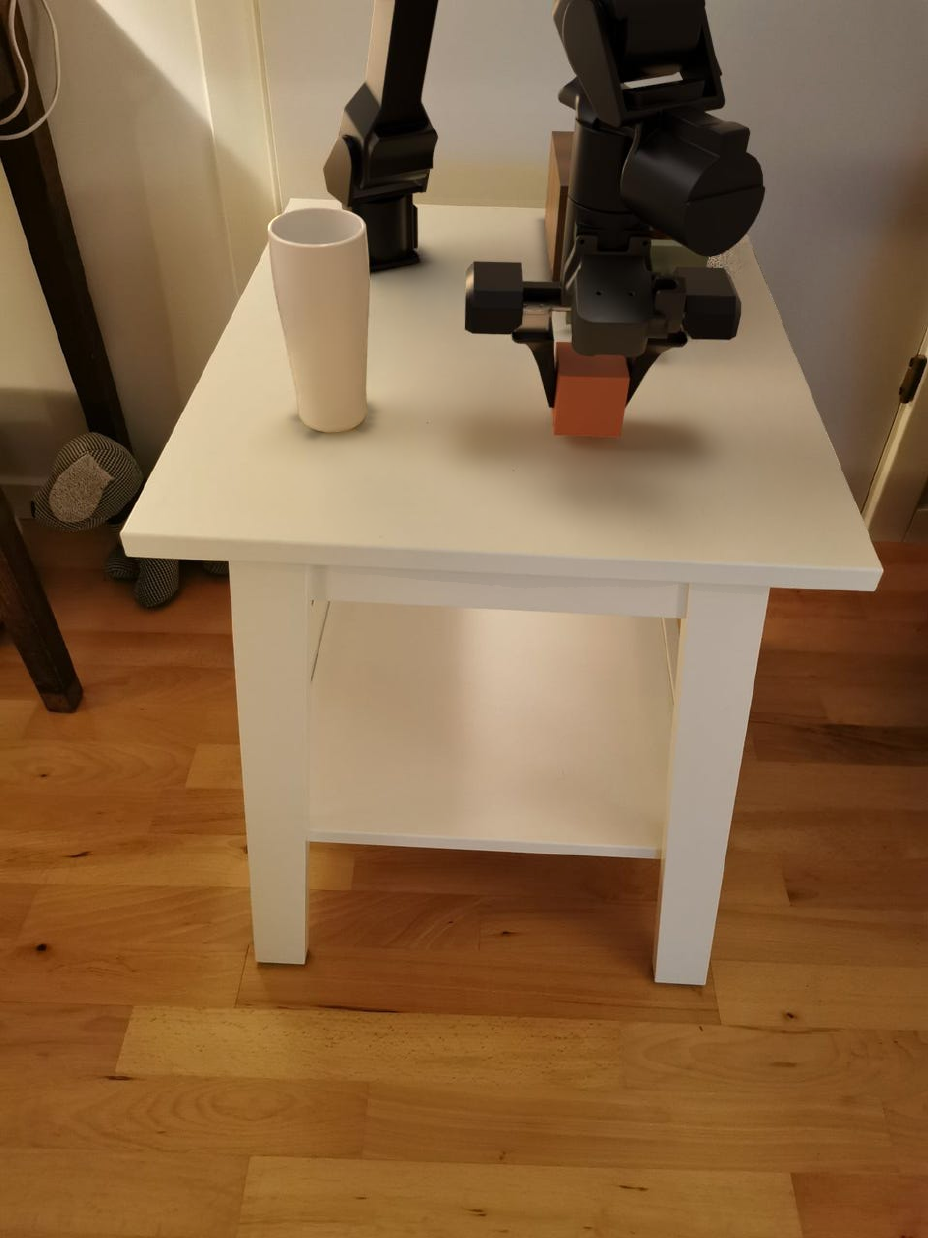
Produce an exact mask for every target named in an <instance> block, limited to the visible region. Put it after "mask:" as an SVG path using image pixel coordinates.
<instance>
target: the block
mask: <svg viewBox="0 0 928 1238" xmlns="http://www.w3.org/2000/svg"><path fill="white" fill-rule="evenodd" d="M554 360H555V381H556V394H555V402H554V408H550V409H551V419H552V429H553V435H554V436H567V437H568V436H569V437H570V436H571V437H611V438H612V437H613V438H619V437H620V438H621V437H622V430H623V425H624V417H625V413H626V408H625V406H626V400H627V393H628V387H629V381H630V376H629V372H628V367H627V362H626V358H625V357H624V356H623V355H595V356H582V355H580V354H578V353H576V352H575V351H574V349H573V347H572V343H571V341H556V342H555V346H554Z"/></svg>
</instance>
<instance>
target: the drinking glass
mask: <svg viewBox="0 0 928 1238" xmlns="http://www.w3.org/2000/svg"><path fill="white" fill-rule="evenodd" d="M267 236H268V251H269V252H268V253H269V261H270V270H271V278H272V284H273V290H274V295H275V300H276V305H277V311H278V315H279V319H280V324H281V329H282V333H283V339H284V342H285V347H286V352H287V353H286V354H287V358H288V361H289V362H288V363H289V367H290V372H291V377H292V382H293V386H294V391H295V399H296V407H297V414H298V416H299V418H300V421H301V422H302V423H304V425H305V426H307V427H308V428H310V429H312V430H314V431H318V432H321V433H340V432H346V431H349V430H351V429H353V428H355V427H357V426H358V425H360V424H361V423H362V422H363V421H364V419H365V418H366V416H367V412H368V398H367V397H368V396H367V378H368V377H367V376H368V375H367V374H368V347H369V345H368V344H369V343H368V342H369V322H370V321H369V318H370V296H371V295H370V292H371V271H370V268H369V251H368V241H367V231H366V224H365V222H364V220H363V219H362V218H361V217H359V216H358V215H356V214H354V213H352V212H349V211H346V210H342V208H337V207H330V206H329V207H328V206H311V207H302V208H296V209H293V210H289V211H286V212H283V213H281V214H279V215H277V216H276V217H274V218H273V219H272V220H271V221H270V222H269V224H268V226H267Z"/></svg>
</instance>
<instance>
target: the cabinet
mask: <svg viewBox="0 0 928 1238" xmlns="http://www.w3.org/2000/svg"><path fill="white" fill-rule="evenodd" d="M573 137H574V131H569V130H567V131H565V130H551V134H550V147H549V159H548V160H549V161H548V174H547V186H546V200H545V209H544V210H545V211H544V213H545V214H544V229H545V235H546V236H545V237H546V245H547V252H548V261H549V270H550V278H551V282H560V274H561V263H562V253H563V242H564V232H565V221H566V210H567V200H568V190H569V179H570V169H571V158H572V147H573Z"/></svg>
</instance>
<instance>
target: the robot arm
mask: <svg viewBox="0 0 928 1238" xmlns="http://www.w3.org/2000/svg"><path fill="white" fill-rule="evenodd" d="M439 1H440V0H374V4H373V5H374V6H373V13H372V21H371V31H370V38H369V39H370V40H369V48H368V55H367V65H366V72H365V78H364V82H363V83H362V84H361V86H360V87H359V88H358V90H356V92H354V94H353V96H352V97H351V98H350V99H349V101H348V102H347V103H346V105H345V106H343V110H342V114H341V120H340V124H339V128H338V134H337V138H336V139H335V141H334V143H333V144H332V147H331V149H330V151H329V154H328V156H327V158H326V160H325V162H324V165H323V167H322V172H323V177H324V182H325V187H326V191H327V192H328V194H329V195H331V196H332V197H333V198H335V199H336V200H337V201H338V202H339V203H341V209H342V210H346V211H349V212H352V213H354V214H356V215H358V216H359V217H361V218H362V219H363V220H364V222H365V224H366V231H367V241H368V251H369V268H370V272H371V271H376V270H383V269H387V268H394V267H400V266H405V265H410V264H411V265H412V264H416V263H420V262H421V255H420V254H419V253H418V252H417V249H418V247H419V208H418V207H417V206H416V204H414V194H419V193H420V194H423V193H424V194H425V193H427V191H428V185H429V181H430V173H431V170H433V169H434V155H435V149H436V145H437V143H438V140H439V134H438V132H437V130H436V129H435V128H434V125H433V124H432V121H431V119H430V117H429V115H428V112H427V110H426V108H425V106H424V103H423V93H424V92H423V91H424V86H425V81H426V75H427V69H428V63H429V58H430V53H431V48H432V47H431V46H432V41H433V35H434V29H435V23H436V20H437V19H436V18H437V13H438V6H439ZM706 4H707V2H706V0H552V9H551V18H552V22H553V24H554V27H555V29H556V32H557V35H558V38H559V40H560V42H561V45H562V48H563V49H564V52H565V55H566V58H567V60H568V63H569V64H570V67H571V69H572V71H573V73H574V74H575V77H574V78H573V79H572V80H570V81H569V82H568V83H566V84H565V85H564V86H563V87H561V88H560V89H559V91H558V92H557V100H558V102H559V103H560V104H563V105H564V106H565V107H568V108H570V109H572V110H574V111H575V117H574V126H573V127H574V128H573V132H574V137H573V147H572V158H571V169H570V179H569V190H568V200H567V210H566V221H565V232H564V242H563V253H562V263H561V274H560V282H552V281H532V280H531V281H530V280H524V279H523V266H522V265H523V263H522V262H521V261H520V262H518V261H516V262H515V261H479V260H477V261H475V260H474V261H473V262H472V263H471V264H470V265H469V266H468V267H467V268H466V269H465V285H464V286H465V288H464V289H465V290H464V291H465V292H464V293H465V295H464V300H465V301H464V331H466V332H468V333H470V334H473V335H505V336H506V335H508V336H510V339H511V341H512V342H513V343H514V344H518V345H526V347H528V349H529V350H530V352H531V354H532V356H533V359H534V360H535V363H536V365H537V368H538V372H539V375H540V379H541V383H542V386H543V390H544V391H543V392H544V394H545V398H546V401H547V406H548V408H549V409H551V408H554V402H555V394H556V381H555V360H554V358H555V335H554V327H553V312H557V313H564V312H565V313H566V312H571V325H570V331H571V339H570V340H571V341H570V342H571V343H572V347H573V349H574V351H575V352H576V353H578V354H580V355H582V356H595V355H623V356H624V357H625V358H626V362H627V367H628V372H629V376H630V381H629V387H628V393H627V400H626V406H625V409H626V408H627V407H628V405H629V403H630V402H631V400H632V398H633V396H634V395H635V393H636V392H637V390H638V388H639V387H640V385H641V384H642V382H643V380H644V378H645V376H646V375H647V373H648V372H649V370H650V369H651V368H652V366H653V364H655V362H656V361H657V360H658V358H659V357H660V356H661V355H662V354H664V353H666V352H668V351H669V350H671V349H680V348H684V347H685V346H686V345H687V344H688V341H689V338H688V337H690V339H691V340H705V341H706V340H708V341H709V340H710V341H731V340H733V339H735V338H736V337H737V335H738V330H739V326H740V321H741V317H742V300H741V298H740V296H739V293H738V291H737V289H736V286H735V283H734V282H733V279H732V277H731V275H730V274H729V273H728V271H727V270H726V269H725V267H717V266H716V267H715V266H714V267H713V266H711V267H710V266H707V267H679V266H677V267H676V268H675V270H674V272H673V274H672V276H665V275H662V274H661V271H653V267H652V261H651V256H650V250H651V243H652V242H651V238H652V232H653V230H652V228H654V229H656V230H657V231H659V232H661V233H662V234H664V235H666V236H667V237H669V238H671V239H672V240H674V241H676V242H677V243H679V244H681V245H682V246H684V247H686V248H688V249H689V250H691V251H693V252H694V253H696V254H698V255H701V256H703V257H709V258H713V257H717V256H720V255H722V254H724V253H726V252H727V251H729V250H730V249H732V248H733V247H734V246H736V245H737V244H738V243H739V242H740V241H741V240H742V239H743V238H744V237H745V236H746V235H747V233H749V230H750V229H751V227H753V225H754V223H755V221H756V219H757V217H758V216H759V213H760V211H761V207H762V205H763V203H764V199H765V194H766V187H765V185H764V172H763V170H762V165H761V164H760V162H759V161H758V159H757V157H755V156H754V155H753V154H751V153H750V152H748V147H749V142H750V138H751V130H750V128H749V126H746V125H743V124H741V123H739V122H736V121H733V120H732V121H730V120H729V121H728V120H724V119H721V118H719V117H717V116H715V115H712V114H711V113H708V112H711V111H718V110H722V109H723V108H724V107H725V105H726V96H725V92H724V88H723V83H722V76H723V71H722V68H721V66H720V63H719V60H718V58H717V55H716V51H715V47H714V42H713V38H712V33H711V28H710V24H709V19H708V15H707V10H706ZM678 73H679V75H680V77H681V79H679V80H673V81H667V82H661V83H654V84H648V85H643V86H636V87H630V86H628V85H627V84H628V83H632V82H639V81H645V80H651V79H657V78H663V77H670V76H674V75H676V74H678ZM626 83H627V84H626Z"/></svg>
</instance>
